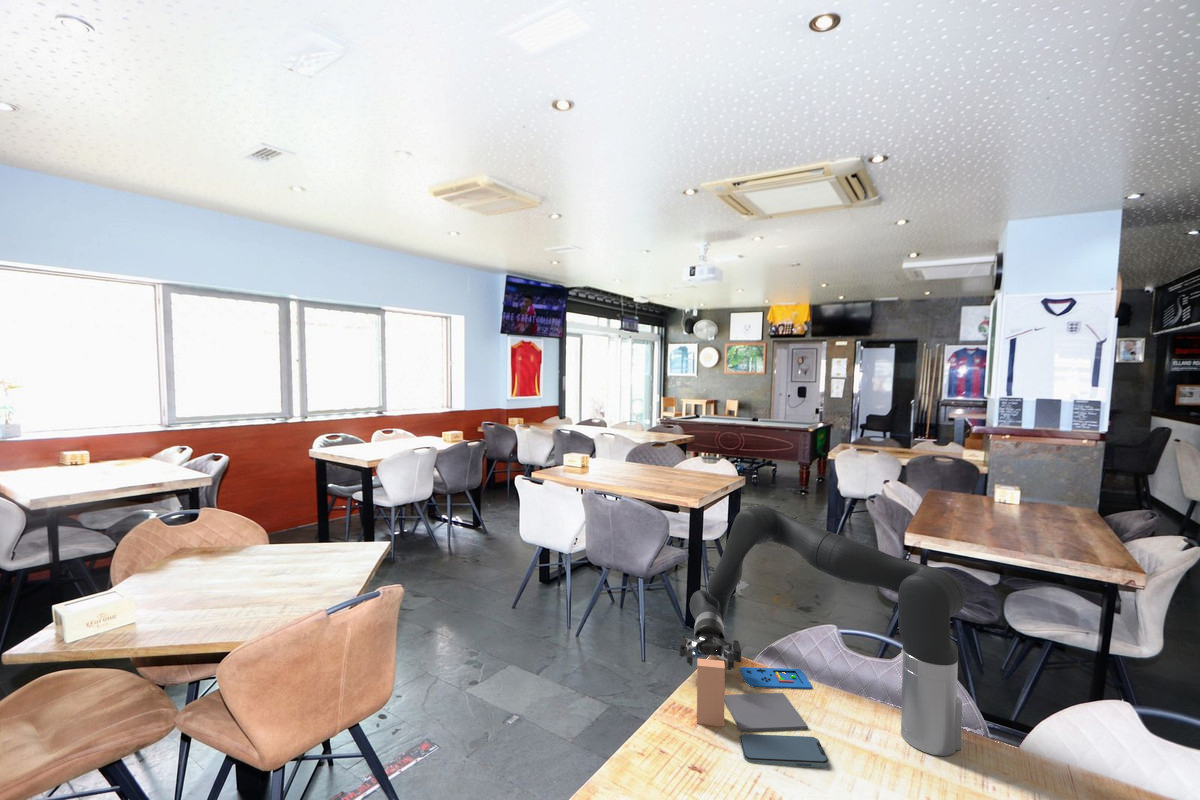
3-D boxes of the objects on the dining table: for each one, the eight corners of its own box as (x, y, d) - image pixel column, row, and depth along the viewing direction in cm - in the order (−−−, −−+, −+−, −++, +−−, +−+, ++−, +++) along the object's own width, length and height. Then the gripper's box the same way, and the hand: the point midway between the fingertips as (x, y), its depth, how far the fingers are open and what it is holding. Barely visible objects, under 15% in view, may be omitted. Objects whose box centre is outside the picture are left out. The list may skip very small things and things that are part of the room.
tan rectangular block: (723, 717, 112) (724, 661, 111) (724, 726, 109) (724, 668, 108) (696, 714, 113) (697, 658, 112) (696, 723, 110) (697, 665, 109)
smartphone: (738, 732, 106) (817, 735, 104) (738, 740, 106) (817, 744, 104) (744, 758, 98) (829, 762, 97) (745, 767, 98) (829, 771, 97)
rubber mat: (783, 695, 120) (783, 692, 120) (807, 729, 108) (807, 726, 108) (722, 697, 119) (722, 694, 119) (740, 731, 107) (740, 728, 107)
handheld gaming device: (739, 665, 131) (800, 667, 131) (739, 670, 131) (800, 672, 131) (747, 684, 123) (813, 686, 123) (747, 689, 123) (813, 690, 123)
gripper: (681, 615, 137) (678, 644, 121) (738, 620, 135) (743, 650, 119) (680, 644, 137) (678, 677, 121) (737, 649, 135) (742, 683, 119)
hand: (710, 663), depth 120 cm, fingers open, 8 cm apart
